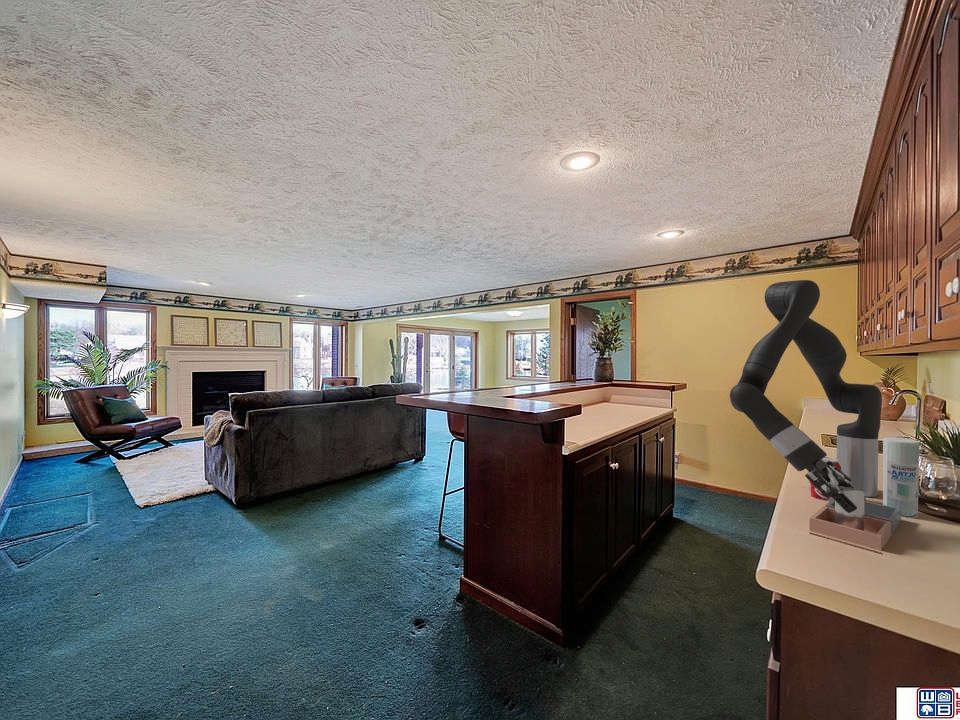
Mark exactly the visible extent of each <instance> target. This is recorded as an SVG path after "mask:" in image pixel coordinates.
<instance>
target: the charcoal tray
mask: <svg viewBox="0 0 960 720" xmlns="http://www.w3.org/2000/svg"><path fill="white" fill-rule="evenodd" d="M824 506H826V507H830V508H834V509H835V500H834V499H832V500H831V501H828V502H827V503H826V504H825V505H824ZM864 516H868V517H872V518H876V519H881V520H885V521H889V522H892V529H891V535H893V534H894V532H895V531H896V529H897V527H898V526H899V524H901V522H902V516H901V509H900V508H895V507H891V506H886V505H883V504H880V503H877V502H872V501H867V500H866V501H864Z"/></svg>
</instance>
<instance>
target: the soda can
mask: <svg viewBox="0 0 960 720" xmlns="http://www.w3.org/2000/svg"><path fill="white" fill-rule="evenodd" d="M822 461H824V462H825V463H826V462H828V461H831V462H832V463H833V464H834V465H835V466H836V467H838V468H839V469H840V470H841V466H840V464H839V463H838V460H837V458H832V457H827V456H826V457H824V458H822ZM808 482H809V485H808V486H809V487H808V489H809V495H810V497H812V498H815V499H818V500H821V501H826V502H830V501H831V500H832V499H831V498H830V497H828V498H826V497H825V496H824V495H823V494H822V493H821V492H820V491H819V490H818V489H817V488H816V487H815V486H814V485H813V484H812V483H811V482H810V481H809V480H808ZM824 485H825V484H824Z"/></svg>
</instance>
